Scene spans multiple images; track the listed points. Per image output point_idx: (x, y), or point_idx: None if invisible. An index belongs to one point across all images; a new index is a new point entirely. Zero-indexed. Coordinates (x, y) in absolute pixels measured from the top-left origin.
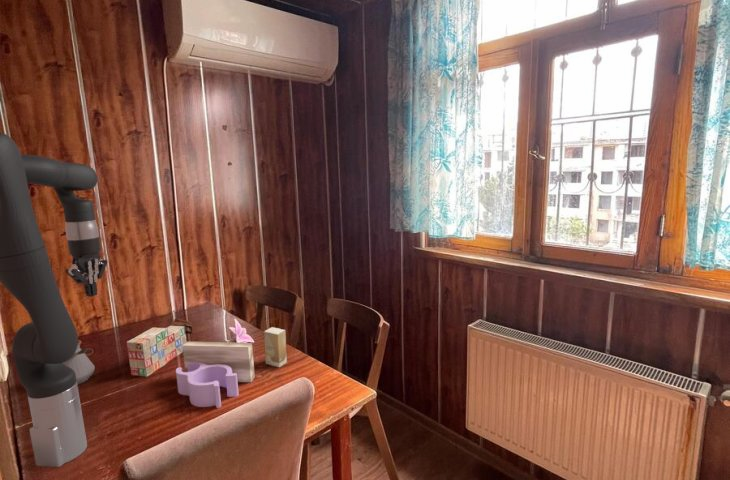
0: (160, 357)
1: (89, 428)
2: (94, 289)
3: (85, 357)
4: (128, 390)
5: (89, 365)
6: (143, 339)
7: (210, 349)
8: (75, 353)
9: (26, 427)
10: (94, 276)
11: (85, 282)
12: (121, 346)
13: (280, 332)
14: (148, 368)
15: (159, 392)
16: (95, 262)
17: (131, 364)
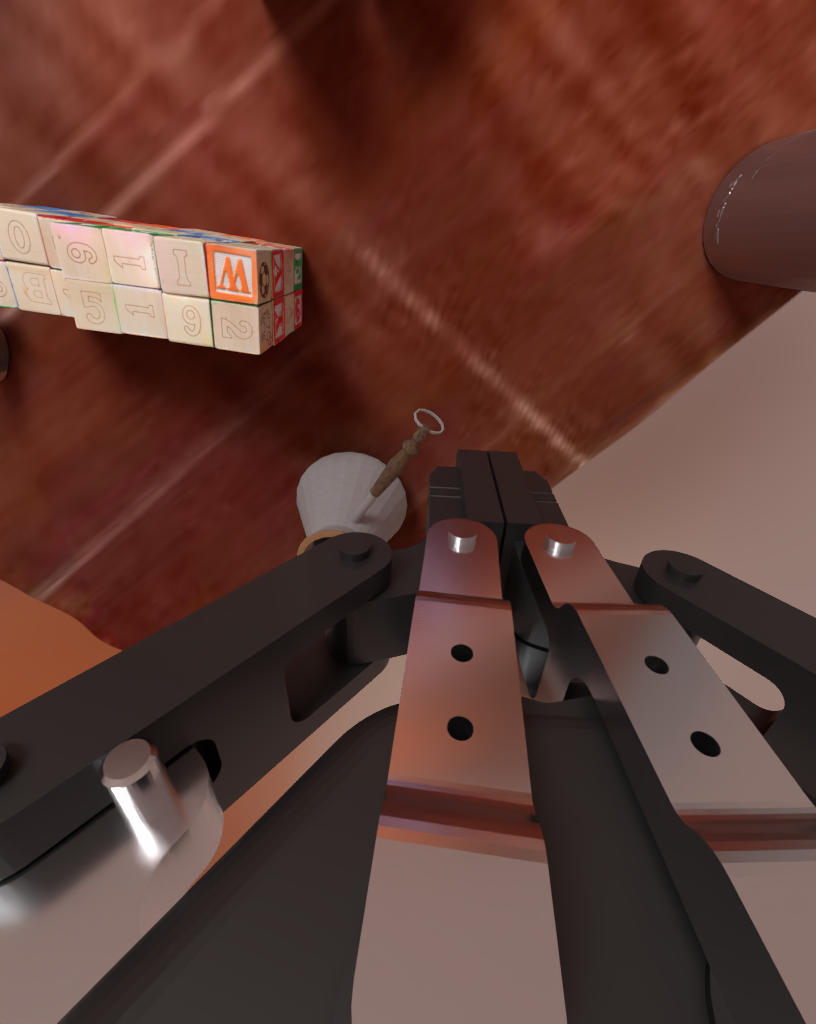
0: (199, 234)
1: (637, 230)
2: (496, 479)
3: (325, 494)
4: (404, 256)
5: (334, 469)
6: (215, 278)
7: None
8: (367, 510)
9: (592, 441)
10: (489, 585)
11: (693, 564)
12: (132, 501)
13: None
14: (282, 245)
15: (415, 84)
16: (543, 916)
17: (291, 324)
